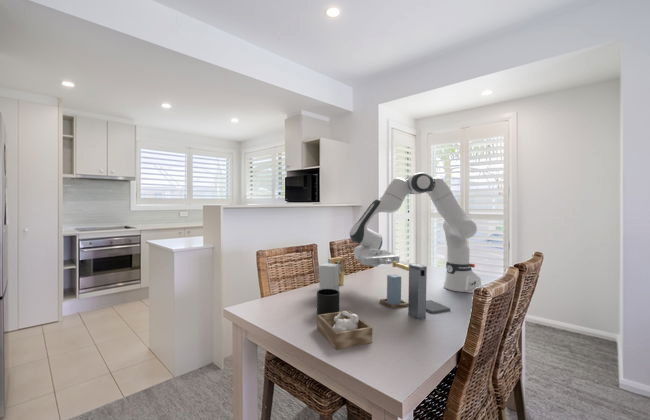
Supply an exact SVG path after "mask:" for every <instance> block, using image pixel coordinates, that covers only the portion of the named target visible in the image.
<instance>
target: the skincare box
mask: <svg viewBox="0 0 650 420" xmlns="http://www.w3.org/2000/svg"><path fill="white" fill-rule="evenodd" d="M318 274H319V275H318V279H319V280H318V282H319V284H318V285H319V290H322V289H334V290H337V291H339V292H340V285H339V264H329V263H328V262H326V263H325V262H324V263H322V264H320V265H318Z"/></svg>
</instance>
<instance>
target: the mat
mask: <svg viewBox="0 0 650 420" xmlns="http://www.w3.org/2000/svg"><path fill="white" fill-rule="evenodd" d="M426 312H428V313H430V314H433V315H434V314H438V313H444V312H451V308H450V307H448V306H447V305H443V304H441V303H439V302H437V301H434V300H431V299H426Z"/></svg>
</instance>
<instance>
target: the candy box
mask: <svg viewBox="0 0 650 420" xmlns="http://www.w3.org/2000/svg"><path fill="white" fill-rule="evenodd" d="M327 263H329V264H339V286H344V280H345V279H344V278H345V258H344V257H343V256H342V257H341V256H336V257H331V258H327Z"/></svg>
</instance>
